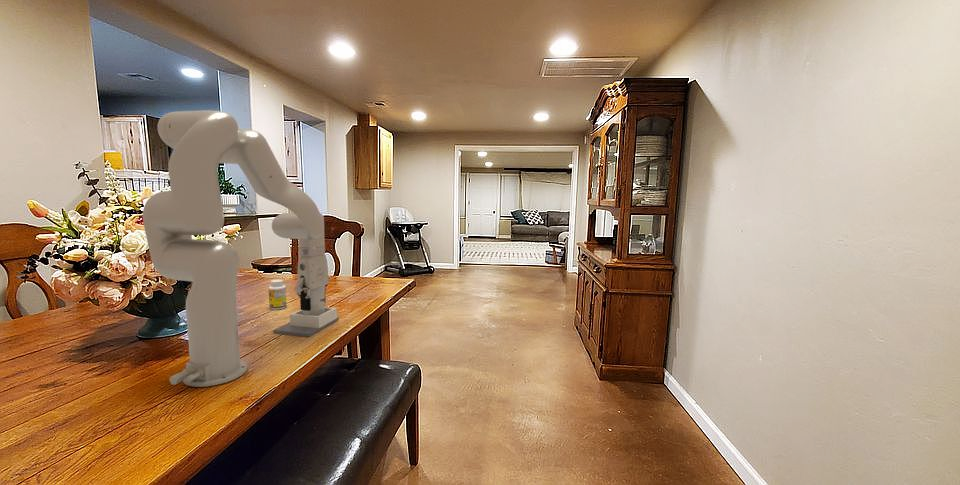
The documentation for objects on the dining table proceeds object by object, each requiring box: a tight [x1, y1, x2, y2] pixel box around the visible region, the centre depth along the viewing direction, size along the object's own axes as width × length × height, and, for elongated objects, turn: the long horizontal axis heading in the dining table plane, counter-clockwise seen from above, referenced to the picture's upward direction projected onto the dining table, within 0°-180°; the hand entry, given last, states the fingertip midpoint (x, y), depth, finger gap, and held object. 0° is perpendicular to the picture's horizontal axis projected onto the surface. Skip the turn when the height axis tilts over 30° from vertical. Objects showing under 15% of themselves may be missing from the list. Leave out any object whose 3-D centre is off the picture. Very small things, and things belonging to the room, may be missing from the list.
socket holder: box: [272, 306, 340, 338], centre depth 124 cm, size 16×12×4 cm
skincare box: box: [302, 280, 326, 316], centre depth 125 cm, size 6×4×12 cm
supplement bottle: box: [268, 279, 287, 311], centre depth 142 cm, size 6×6×10 cm
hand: (313, 306), depth 125 cm, fingers closed on skincare box, 7 cm apart
